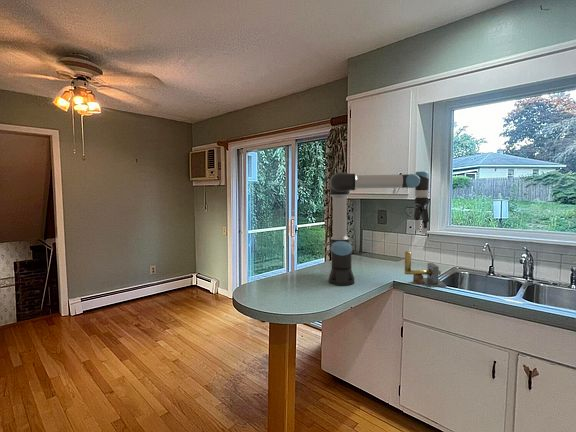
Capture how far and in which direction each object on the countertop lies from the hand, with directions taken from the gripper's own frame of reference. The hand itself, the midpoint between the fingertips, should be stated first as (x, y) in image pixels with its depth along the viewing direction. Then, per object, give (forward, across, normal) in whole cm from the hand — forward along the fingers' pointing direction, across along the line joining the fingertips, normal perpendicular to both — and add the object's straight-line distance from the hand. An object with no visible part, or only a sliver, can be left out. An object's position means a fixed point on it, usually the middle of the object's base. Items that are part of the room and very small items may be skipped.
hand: (420, 231), depth 193 cm
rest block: (+28, -13, +5) cm, 31 cm away
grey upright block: (+28, -13, -3) cm, 31 cm away
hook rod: (+23, -13, +3) cm, 27 cm away
